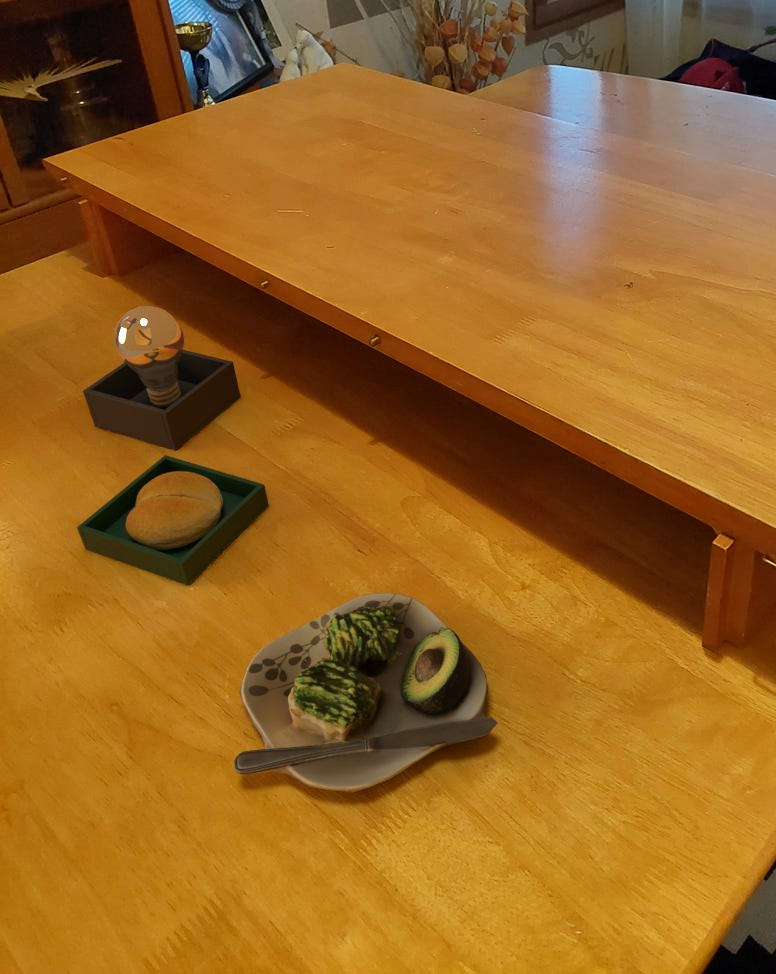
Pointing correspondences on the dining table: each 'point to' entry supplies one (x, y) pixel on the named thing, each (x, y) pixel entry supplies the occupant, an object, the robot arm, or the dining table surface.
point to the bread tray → (182, 563)
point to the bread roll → (174, 510)
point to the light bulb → (152, 350)
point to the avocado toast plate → (362, 694)
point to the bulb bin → (202, 399)
